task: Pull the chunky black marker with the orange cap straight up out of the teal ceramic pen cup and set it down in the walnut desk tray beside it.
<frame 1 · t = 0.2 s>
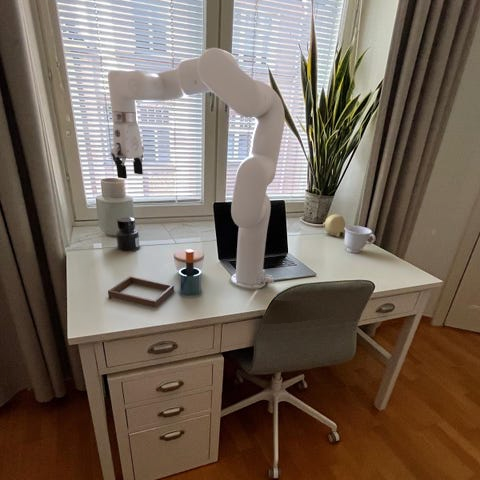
hand: (130, 175, 119), 31 cm above the table, tool pointing down, fingers open, 9 cm apart
marker: (190, 290, 116), point 1 cm above the table, touching pen cup
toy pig: (333, 235, 179), on the table
pen cup: (190, 292, 116), on the table
trinket box: (189, 274, 128), on the table
ink bottle: (129, 248, 147), on the table
desk tray: (142, 295, 112), on the table
teacup: (355, 252, 160), on the table
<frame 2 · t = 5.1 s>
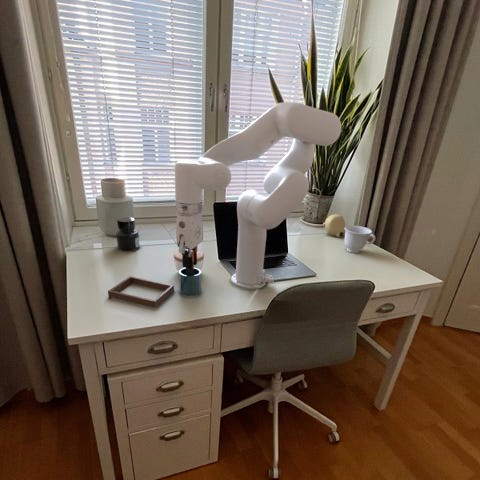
hand: (189, 265, 111), 10 cm above the table, tool pointing down, fingers closed on marker, 2 cm apart
marker: (190, 290, 116), point 1 cm above the table, touching gripper, pen cup
everything else where it was.
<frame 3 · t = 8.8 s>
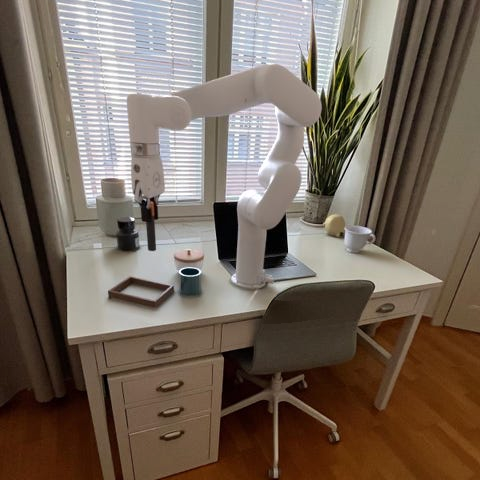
hand: (150, 219, 100), 24 cm above the table, tool pointing down, fingers closed on marker, 2 cm apart
marker: (152, 249, 105), point 15 cm above the table, touching gripper
everything else where it was.
when the fingers open (10 cm above the table, at t = 12.7 s): marker stays where it is, resting on desk tray.
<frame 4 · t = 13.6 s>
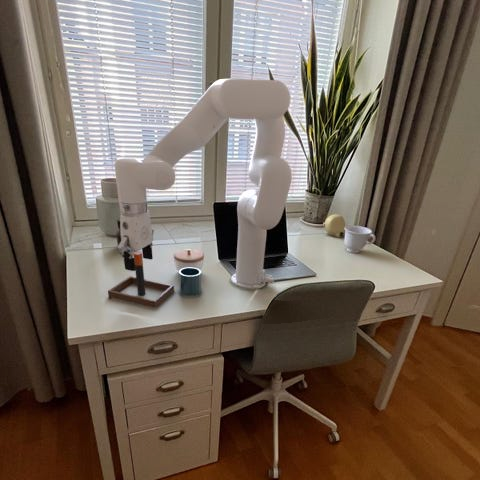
hand: (139, 264, 106), 11 cm above the table, tool pointing down, fingers open, 9 cm apart
marker: (141, 294, 112), resting on desk tray
everything else where it was.
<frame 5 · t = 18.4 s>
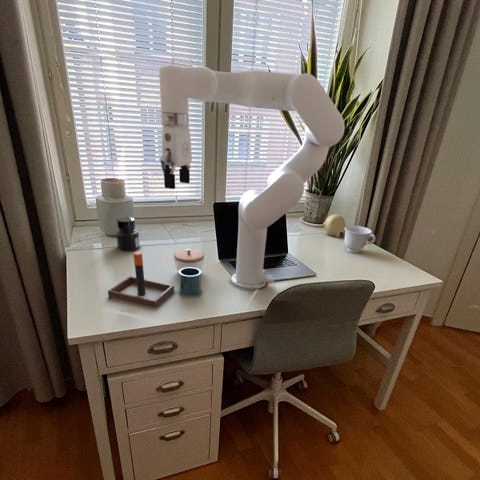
hand: (177, 185, 105), 32 cm above the table, tool pointing down, fingers open, 9 cm apart
nothing on the table moved.
at the end: marker inside the target area in the desk tray (0.1 cm from its centre), point 0.5 cm above the desk tray's base; the gripper is holding nothing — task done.
